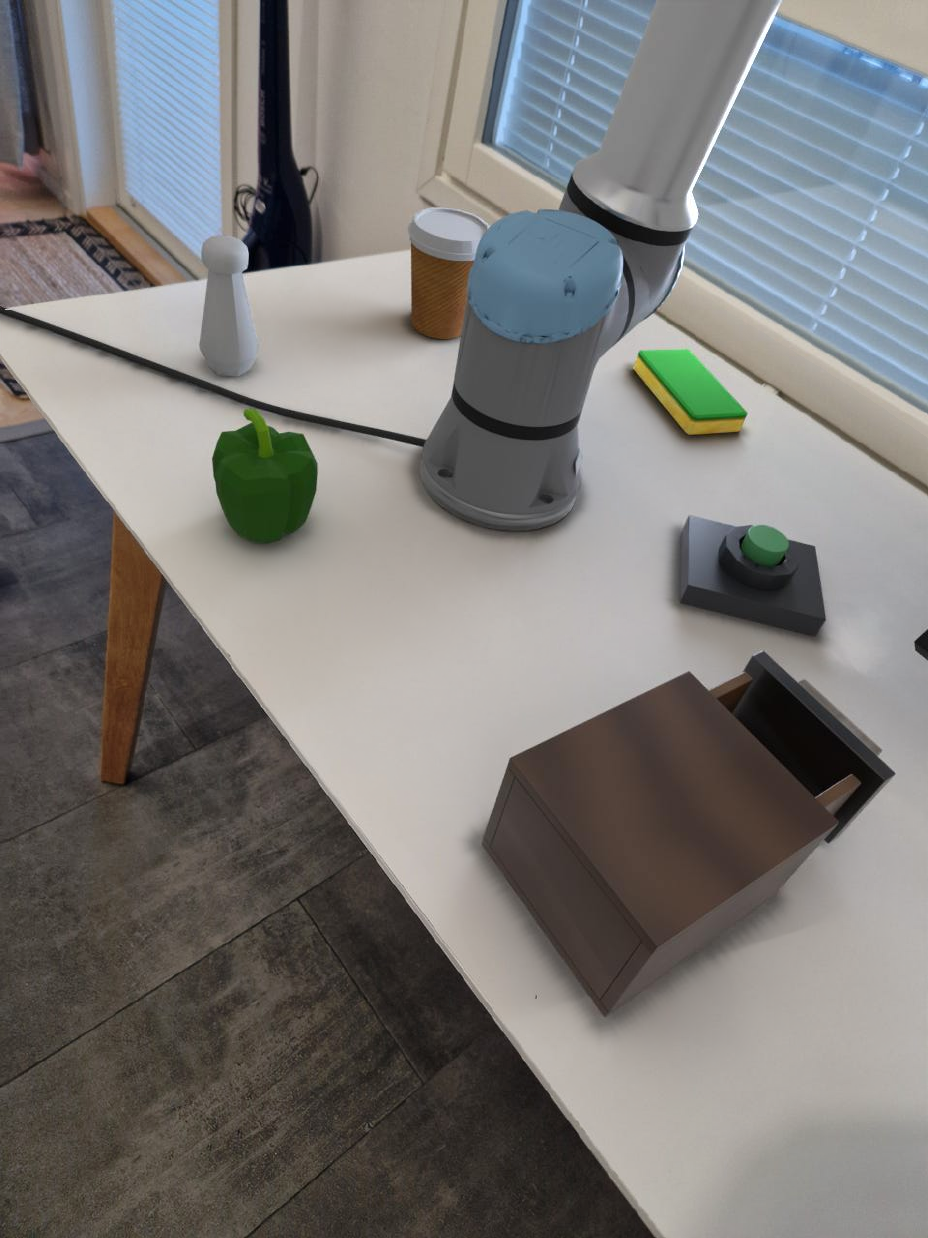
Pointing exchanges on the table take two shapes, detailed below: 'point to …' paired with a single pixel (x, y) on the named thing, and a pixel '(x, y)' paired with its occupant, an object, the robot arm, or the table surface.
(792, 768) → the drawer
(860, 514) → the table surface
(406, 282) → the table surface
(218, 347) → the salt shaker
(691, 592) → the control block
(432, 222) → the disposable coffee cup
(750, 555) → the button
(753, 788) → the cabinet
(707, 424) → the dish sponge
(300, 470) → the bell pepper
